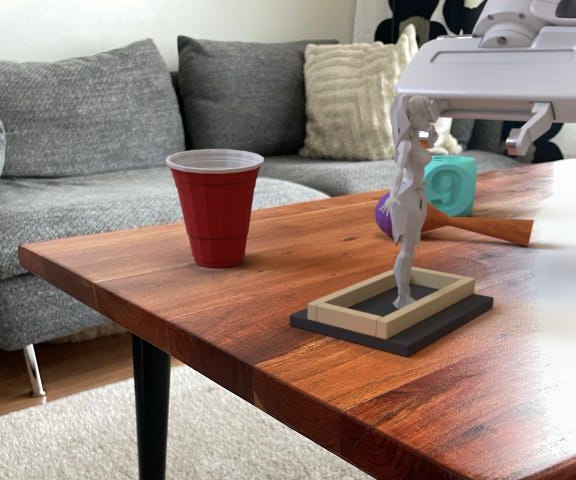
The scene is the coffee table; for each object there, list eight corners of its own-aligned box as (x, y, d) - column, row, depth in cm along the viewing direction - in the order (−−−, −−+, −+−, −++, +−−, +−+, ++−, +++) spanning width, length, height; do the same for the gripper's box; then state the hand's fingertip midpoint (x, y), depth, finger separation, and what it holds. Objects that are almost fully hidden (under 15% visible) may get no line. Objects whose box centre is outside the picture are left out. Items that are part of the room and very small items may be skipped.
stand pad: (492, 307, 68) (496, 282, 67) (407, 357, 57) (409, 327, 56) (384, 284, 75) (386, 261, 74) (289, 325, 64) (289, 298, 63)
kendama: (533, 219, 86) (371, 196, 91) (523, 265, 89) (368, 239, 95) (538, 201, 90) (383, 180, 96) (528, 245, 94) (379, 222, 100)
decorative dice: (469, 209, 112) (474, 156, 109) (472, 219, 105) (478, 162, 102) (417, 207, 114) (421, 155, 110) (417, 217, 107) (421, 161, 103)
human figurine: (404, 329, 60) (420, 97, 53) (361, 323, 61) (370, 96, 54) (434, 290, 70) (451, 90, 63) (396, 285, 71) (408, 90, 64)
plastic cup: (175, 277, 78) (167, 162, 73) (169, 253, 88) (162, 150, 83) (274, 271, 80) (272, 159, 75) (257, 248, 90) (255, 147, 85)
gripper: (417, 13, 75) (362, 120, 72) (624, 2, 63) (568, 129, 60) (435, 60, 80) (384, 161, 77) (629, 58, 68) (578, 178, 65)
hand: (466, 147), depth 68 cm, fingers open, 8 cm apart
